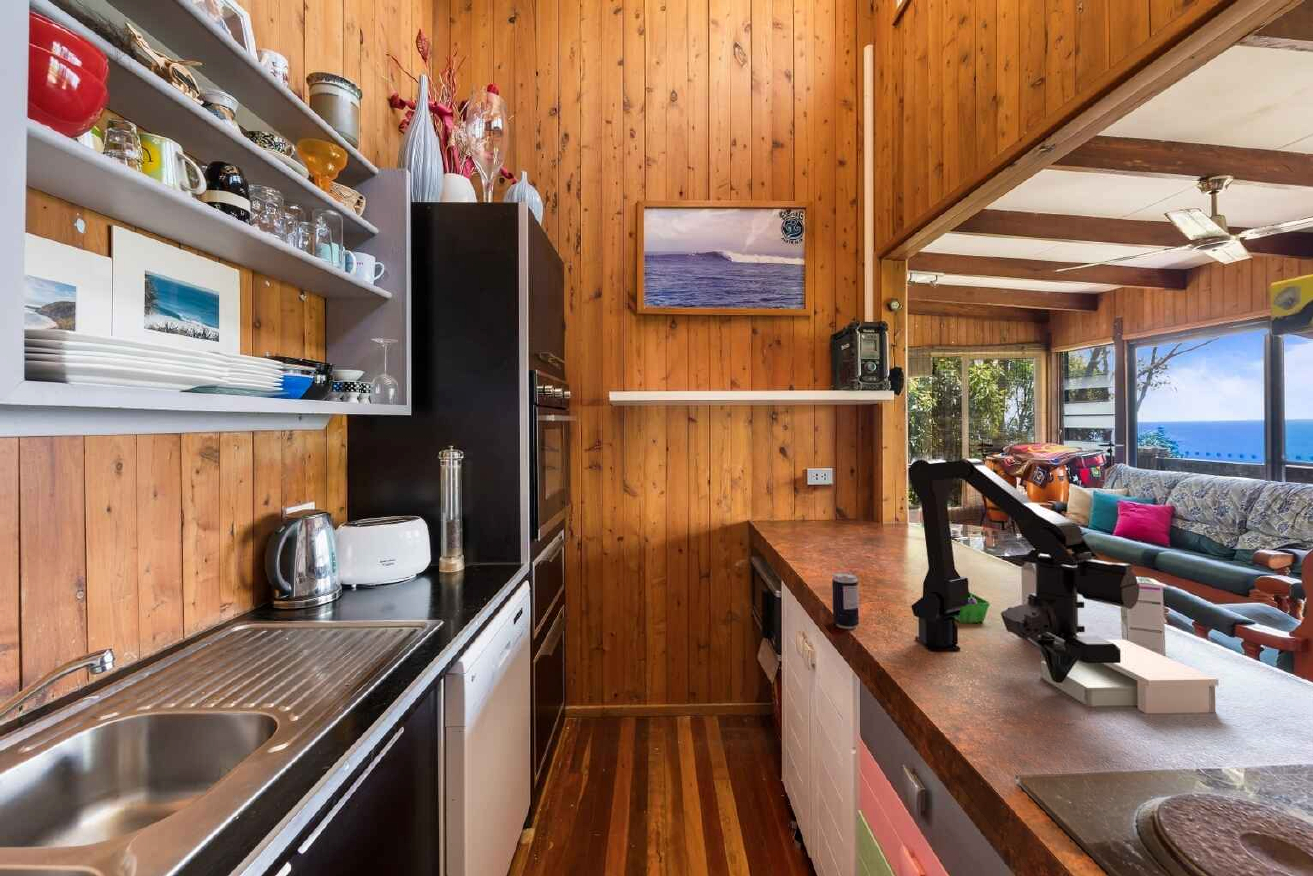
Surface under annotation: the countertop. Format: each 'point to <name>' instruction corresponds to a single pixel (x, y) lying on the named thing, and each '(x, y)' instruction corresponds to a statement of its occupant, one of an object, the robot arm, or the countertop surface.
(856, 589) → the beverage can
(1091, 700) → the cream rectangular slab
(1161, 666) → the overhang
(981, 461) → the robot arm
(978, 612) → the fruit basket
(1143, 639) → the syrup box
